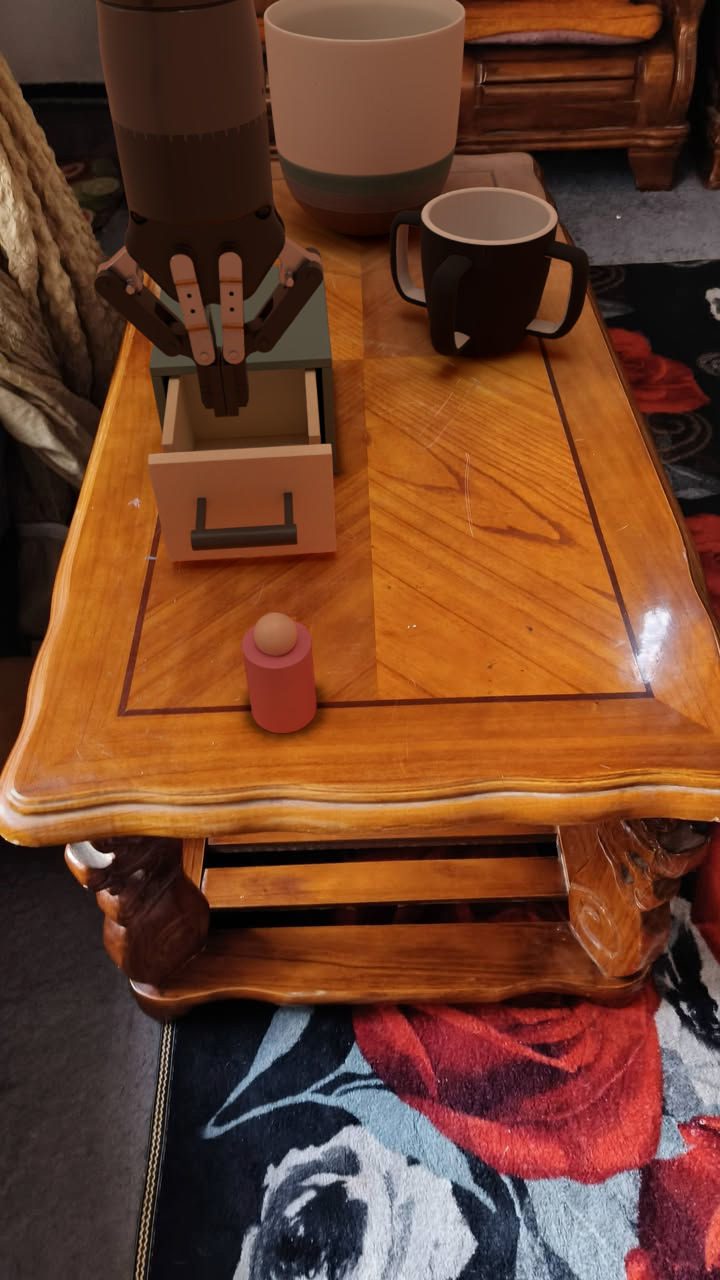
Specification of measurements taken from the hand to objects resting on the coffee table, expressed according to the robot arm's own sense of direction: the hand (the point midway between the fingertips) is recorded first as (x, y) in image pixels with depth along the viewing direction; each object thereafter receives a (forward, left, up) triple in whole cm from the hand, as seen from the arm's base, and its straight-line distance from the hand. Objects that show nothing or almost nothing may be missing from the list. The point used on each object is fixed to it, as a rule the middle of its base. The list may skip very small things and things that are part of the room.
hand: (228, 409), depth 59 cm
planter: (+13, +61, -15) cm, 64 cm away
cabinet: (0, +21, -15) cm, 26 cm away
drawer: (0, +7, -14) cm, 16 cm away
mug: (+22, +34, -15) cm, 43 cm away
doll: (+2, -12, -15) cm, 19 cm away
